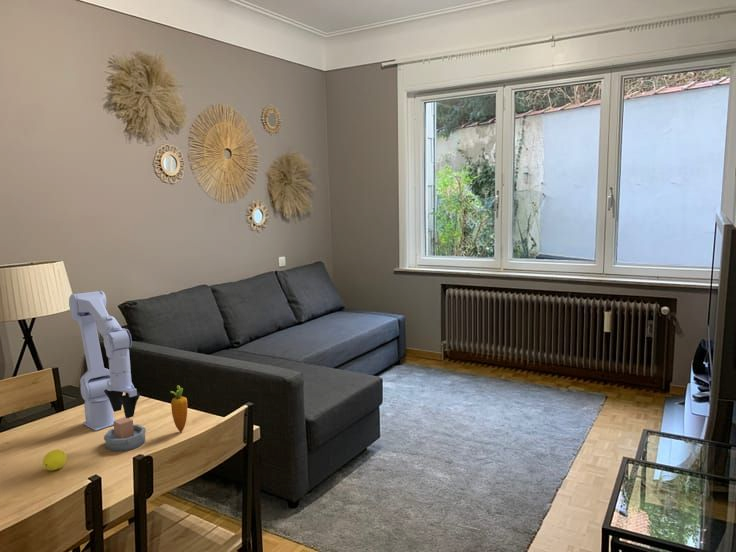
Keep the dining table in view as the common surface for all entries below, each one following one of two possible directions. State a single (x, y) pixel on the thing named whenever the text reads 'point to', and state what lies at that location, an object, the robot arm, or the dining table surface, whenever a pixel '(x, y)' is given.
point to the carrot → (179, 409)
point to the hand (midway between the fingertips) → (123, 413)
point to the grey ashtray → (125, 440)
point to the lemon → (54, 460)
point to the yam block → (123, 428)
